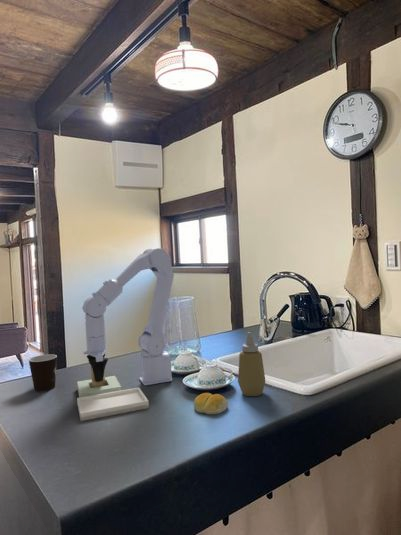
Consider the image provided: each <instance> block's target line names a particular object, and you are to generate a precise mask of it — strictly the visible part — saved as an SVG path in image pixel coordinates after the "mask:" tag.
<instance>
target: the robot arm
mask: <svg viewBox="0 0 401 535" xmlns="http://www.w3.org/2000/svg"><path fill="white" fill-rule="evenodd" d="M171 260H172V257H171V256H170V255H169V253H168V252H167V250H165V249H164V248H161V247H157V248H153V249H152V248H148V249H146V250H144V251H143V253H140V254H139V255H137V257H136V258H135V259H134V260H133V261H132V262H131V263H130V264H129V265H128V266H127V267H126V268H125V269H124V270H123V271H122V272H121V273H120V274H119V275H118V276H117V277H116V278H115V279H113V278H111V279H108V280H105V281H103V283H102V284H103V285H102V286H101V287H100V288H99V289H98V290H97V291H94V292H92V293H91V297H87V298H86V299H85V300H84V302H83V304H82V305H83V306H82V311H83V312H84V313H85V318H84V319H85V324H84V325H85V339H86V350H83V351H82V353H83V355H86V358H87V359H88V363H89V365H90V367H91V366H92V369H93V373H94V378H95V381H96V382H99V381H103V377H104V371H105V369H106V365H107V364H108V360H109V358H108V357H105V356H106V353H107V352H108V348H107V343H106V328H105V326H106V324H105V317H104V316H105V312H106V311H107V307H109V306H110V305H111V304H112V303H113V302H114V301H116V299H118V297H119V296H121V294H122V293H123V288H124V286H126V284H127V283H129V282H130V281H131V280H132V279H133V278H134V277H135V276H137V275H138V274H139V273H140V272H141V271H145V270H148V269H149V270H151V272H152V273H153V274H154V275H155V278H156V282H155V286H154V287H155V288H154V291H153V295H152V296H153V297H152V301H151V306H150V310H149V315H148V320H147V323H146V325H145V326H144V328H143V330H142V333H141V335H140V336H139V338H138V340H137V341H138V342H137V343H138V344H137V345H138V347H139V348H140V349H141V354H140V358H141V373H142V376H140V377H139V378H138V379H139V381H140V382H141V383H142V384H143V385H144V386H149V385H151V386H152V385H156V384H161V383H162V384H163V383H167V382H173V378H172V361H171V355H170V353H169V352H167V351H166V352H164V351H165V349H166V341H165V335H166V334H165V333H166V332H165V330H164V329H165V328H164V324H165V320H166V315H167V310H168V305H169V300H170V296H171V291H172V286H173V281H174V276H175V274H174V270H173V267H172V263H171Z"/></svg>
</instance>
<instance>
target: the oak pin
mask: <svg viewBox="0 0 401 535" xmlns="http://www.w3.org/2000/svg"><path fill="white" fill-rule="evenodd" d="M90 372H91V379H92V388H95V387H101V386H105V377H106V375H105V370H104V377H103V381H99V382H96V381H95V378H94V373H93V369H92V366H91V365H90Z"/></svg>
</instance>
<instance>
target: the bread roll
mask: <svg viewBox="0 0 401 535" xmlns="http://www.w3.org/2000/svg"><path fill="white" fill-rule="evenodd" d="M193 406H194V409H195V411H197V413H200V414H201V413H202V414H204V413H205V414H207V415H218V414H221V413H223V412H224V411H226V410H227V409H228V406H229V402H228V400H227V399H226V397H224V396H223V395H221V394H219V393H215V394H212V393H210V392H203V393H201V394H199V395H198V396H196V397H195V399H194V402H193Z"/></svg>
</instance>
